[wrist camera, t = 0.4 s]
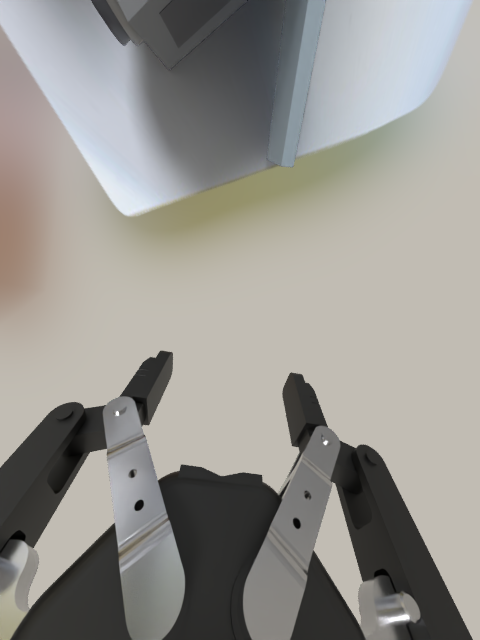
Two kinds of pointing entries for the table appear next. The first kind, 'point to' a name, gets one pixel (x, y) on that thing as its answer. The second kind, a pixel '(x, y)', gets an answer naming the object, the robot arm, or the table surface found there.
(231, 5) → the grey box
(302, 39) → the side door
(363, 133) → the table surface
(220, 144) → the table surface
